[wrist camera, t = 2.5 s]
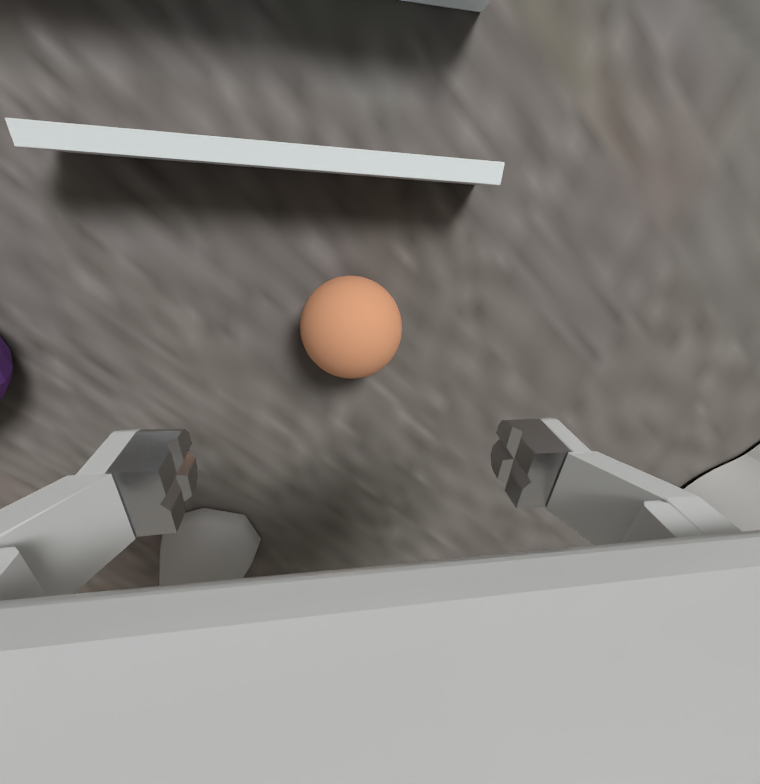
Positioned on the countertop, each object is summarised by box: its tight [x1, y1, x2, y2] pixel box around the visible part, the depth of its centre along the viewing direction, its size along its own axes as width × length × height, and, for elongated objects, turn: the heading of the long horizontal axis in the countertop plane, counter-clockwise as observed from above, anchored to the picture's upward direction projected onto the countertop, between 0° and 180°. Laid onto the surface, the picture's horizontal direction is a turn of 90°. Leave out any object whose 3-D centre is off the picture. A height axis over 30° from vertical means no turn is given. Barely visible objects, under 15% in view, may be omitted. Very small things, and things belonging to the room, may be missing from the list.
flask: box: [159, 508, 261, 586], centre depth 23 cm, size 7×7×10 cm
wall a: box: [5, 118, 505, 185], centre depth 15 cm, size 18×1×3 cm, turn 86°
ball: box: [300, 276, 402, 379], centre depth 18 cm, size 5×5×5 cm
